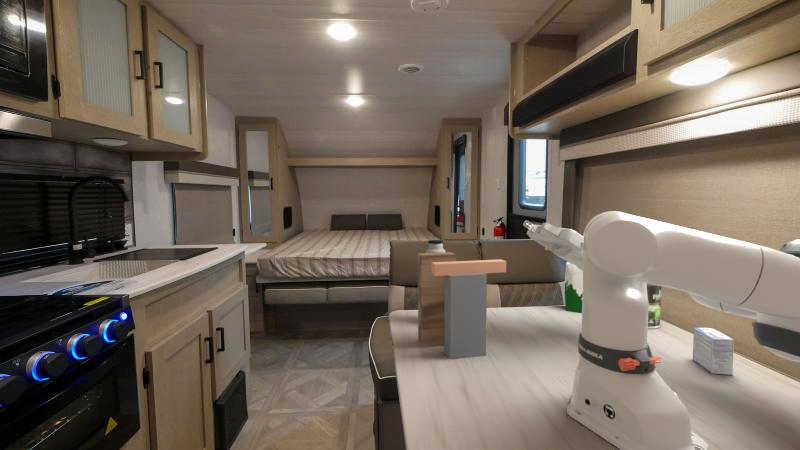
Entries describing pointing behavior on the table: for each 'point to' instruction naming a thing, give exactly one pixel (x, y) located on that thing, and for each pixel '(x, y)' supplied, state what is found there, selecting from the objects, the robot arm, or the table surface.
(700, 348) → the medicine box
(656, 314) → the coffee can
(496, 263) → the rail
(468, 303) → the gray block
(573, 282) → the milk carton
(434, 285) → the walnut post
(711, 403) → the table surface
